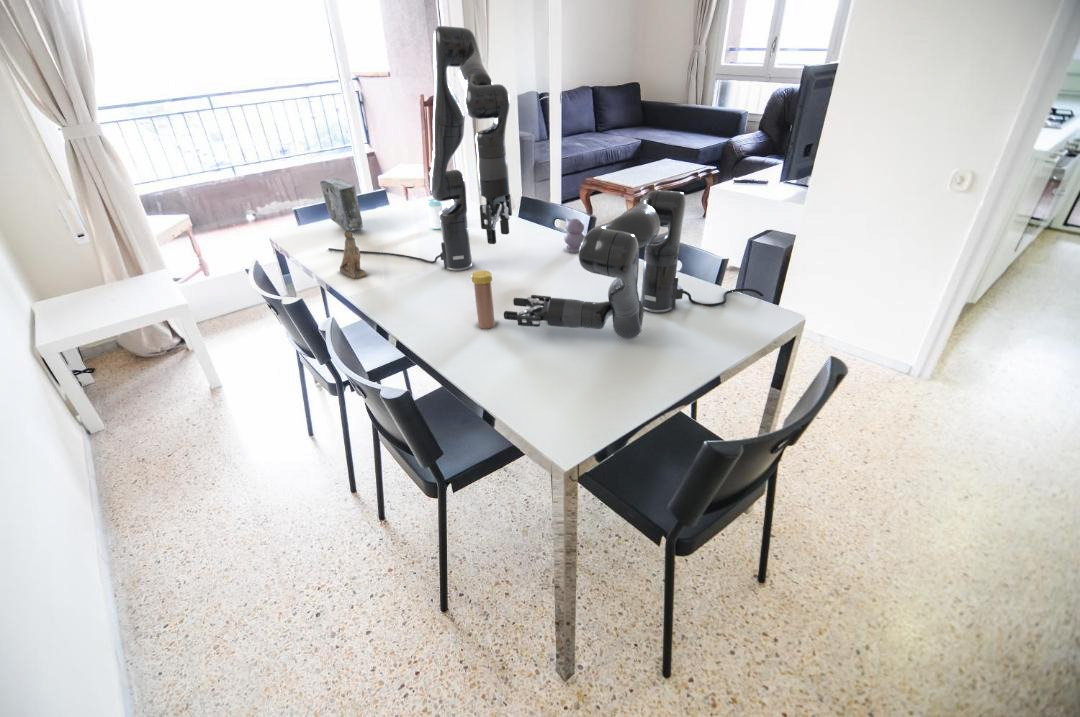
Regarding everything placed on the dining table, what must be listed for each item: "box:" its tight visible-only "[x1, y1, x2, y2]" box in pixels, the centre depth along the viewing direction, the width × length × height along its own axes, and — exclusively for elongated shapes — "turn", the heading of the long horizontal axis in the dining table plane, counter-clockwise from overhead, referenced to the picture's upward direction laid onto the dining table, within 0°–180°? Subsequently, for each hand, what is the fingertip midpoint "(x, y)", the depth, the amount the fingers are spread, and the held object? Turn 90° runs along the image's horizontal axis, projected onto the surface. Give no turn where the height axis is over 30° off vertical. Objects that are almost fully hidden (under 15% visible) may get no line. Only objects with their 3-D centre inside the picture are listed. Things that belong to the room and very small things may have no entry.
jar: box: [473, 281, 496, 330], centre depth 137 cm, size 5×5×15 cm
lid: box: [471, 270, 493, 284], centre depth 133 cm, size 5×5×2 cm
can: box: [426, 198, 445, 230], centre depth 220 cm, size 7×7×12 cm
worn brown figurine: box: [339, 230, 367, 280], centre depth 174 cm, size 12×6×18 cm, turn 43°
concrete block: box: [319, 177, 364, 232], centre depth 222 cm, size 27×9×20 cm, turn 36°
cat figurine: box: [563, 217, 586, 254], centre depth 188 cm, size 8×8×12 cm
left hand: (498, 238), depth 133 cm, fingers open, 8 cm apart
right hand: (509, 308), depth 136 cm, fingers open, 8 cm apart
